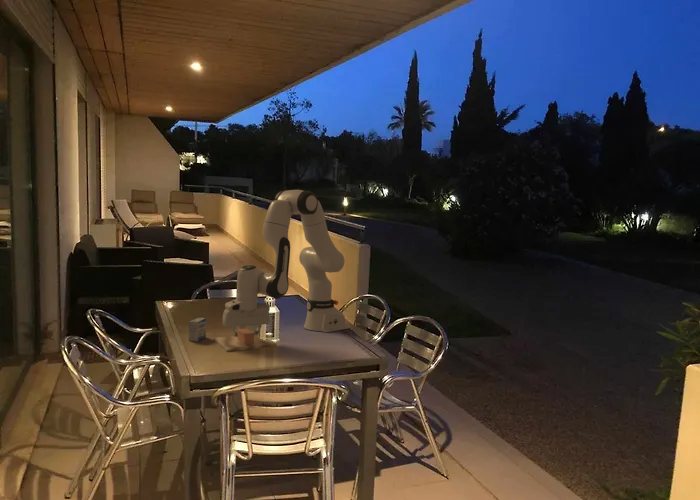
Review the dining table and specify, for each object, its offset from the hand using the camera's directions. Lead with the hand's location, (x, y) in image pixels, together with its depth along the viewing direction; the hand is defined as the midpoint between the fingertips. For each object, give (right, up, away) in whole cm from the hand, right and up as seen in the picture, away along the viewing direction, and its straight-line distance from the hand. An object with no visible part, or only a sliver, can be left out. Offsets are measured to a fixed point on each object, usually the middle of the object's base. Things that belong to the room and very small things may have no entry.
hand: (246, 335), depth 242 cm
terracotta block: (-3, 0, +5) cm, 6 cm away
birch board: (-1, -3, +1) cm, 4 cm away
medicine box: (-22, -2, +4) cm, 22 cm away
